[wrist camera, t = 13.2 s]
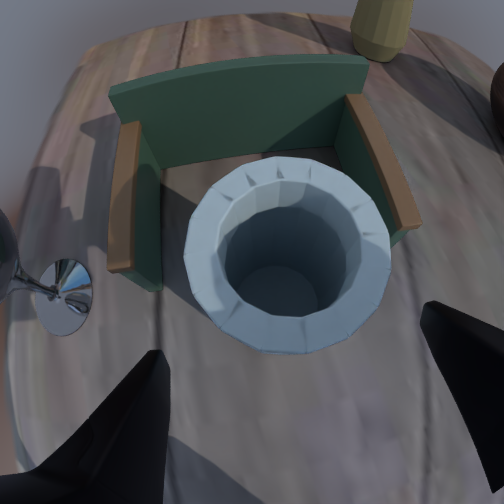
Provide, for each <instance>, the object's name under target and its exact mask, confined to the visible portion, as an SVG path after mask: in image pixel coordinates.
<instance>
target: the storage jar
mask: <svg viewBox="0 0 504 504" xmlns="http://www.w3.org/2000/svg"><path fill="white" fill-rule="evenodd" d="M183 259H184V263H185V267H186V271H187V275H188V279H189V283H190V287H191V291H192V294H193V295H194V298H195V299H196V300H197V302H198V303H199V304H200V306H201V307H202V308H203V309H204V311H205V312H206V313H207V314H208V316H209V317H210V318H211V319H212V321H213V322H214V323H215V324H216V326H217V327H218V328H219V329H221V331H223V332H224V333H226V334H228V335H229V336H231V337H233V338H235V339H236V340H238V341H240V342H242V343H243V344H245V345H247V346H249V347H251V348H253V349H255V350H257V351H259V352H261V353H265V354H279V355H290V354H309V353H312V352H314V351H317V350H320V349H322V348H325V347H328V346H330V345H333V344H336V343H338V342H341V341H343V340H346V339H348V337H350V336H351V335H352V334H353V333H354V332H355V331H356V330H357V329H358V328H359V327H360V326H361V325H362V324H363V323H364V322H365V321H366V320H367V319H368V318H369V317H370V316H371V315H372V314H373V313H374V312H375V311H376V309H377V307H378V306H379V304H380V302H381V299H382V296H383V294H384V291H385V288H386V285H387V282H388V279H389V277H390V274H391V253H390V239H389V233H388V230H387V228H386V225H385V223H384V221H383V219H382V217H381V215H380V213H379V211H378V209H377V207H376V205H375V203H374V201H373V200H371V197H370V196H369V195H368V194H367V193H366V192H364V191H363V190H362V189H361V188H360V187H359V186H358V185H357V184H356V183H355V182H354V181H353V180H352V179H351V178H349V177H348V176H347V175H345V174H344V173H342V172H340V171H338V170H336V169H333V168H331V167H329V166H327V165H324V164H322V163H320V162H317V161H315V160H312V159H306V158H294V157H281V156H276V157H275V156H274V157H270V158H266V159H262V160H258V161H254V162H251V163H247V164H243V165H241V166H239V167H238V168H236V169H235V170H233V171H232V172H230V173H229V174H227V175H226V176H224V177H223V178H222V179H220V180H219V181H217V182H216V183H215V184H213V185H212V186H211V187H210V188H209V190H208V191H207V193H206V194H205V196H204V197H203V199H202V200H201V202H200V203H199V205H198V206H197V208H196V209H195V211H194V212H193V214H192V215H191V219H190V221H189V226H188V231H187V236H186V242H185V248H184V256H183Z"/></svg>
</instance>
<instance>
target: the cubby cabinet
mask: <svg viewBox="0 0 504 504" xmlns="http://www.w3.org/2000/svg"><path fill="white" fill-rule="evenodd" d="M369 65H370V64H369V62H368V61H367V59H366V58H365V57H364V56H358V55H338V54H294V55H274V56H261V57H250V58H241V59H232V60H225V61H218V62H211V63H205V64H200V65H194V66H189V67H184V68H179V69H174V70H170V71H165V72H161V73H157V74H153V75H149V76H145V77H142V78H138V79H135V80H131V81H128V82H124V83H121V84H118V85H115V86H112V87H111V88H110V91H109V94H108V97H109V99H110V101H111V103H112V105H113V107H114V109H115V111H116V112H117V114H118V116H119V118H120V120H121V126H120V132H119V138H118V144H117V150H116V157H115V164H114V172H113V180H112V189H111V199H110V210H109V224H108V242H107V271H109V272H111V273H112V274H114V273H120V274H122V275H123V276H125V277H126V278H128V279H129V280H131V281H133V282H134V283H136V284H137V285H139V286H141V287H142V288H144V289H145V290H147V291H149V292H153V291H161V290H163V282H162V262H161V233H160V173H161V169H165V168H170V167H175V166H181V165H186V164H191V163H197V162H202V161H208V160H214V159H221V158H227V157H234V156H241V155H248V154H255V153H263V152H272V151H280V150H290V149H300V148H311V147H324V146H334V148H335V150H336V153H337V156H338V158H339V161H340V164H341V167H342V169H343V172H344V174H345V175H347V176H348V177H349V178H351V179H352V180H353V181H354V182H355V183H356V184H357V185H358V186H359V187H360V188H361V189H362V190H363V191H364V192H366V193H367V194H368V195H369V196H370V197H371V200H373V201H374V203H375V205H376V207H377V209H378V211H379V213H380V215H381V217H382V219H383V221H384V223H385V225H386V228H387V230H388V233H389V239H390V249H391V248H392V247H393V246H394V245H395V244H396V243H397V242H398V241H399V240H400V239H401V238H402V237H403V236H404V235H405V234H406V233H407V232H408V231H409V230H411V229H417V228H419V227H420V226H421V225H422V220H421V217H420V215H419V212H418V209H417V206H416V204H415V201H414V199H413V196H412V193H411V191H410V188H409V186H408V184H407V181H406V179H405V176H404V174H403V172H402V169H401V167H400V165H399V163H398V160H397V158H396V156H395V154H394V152H393V150H392V148H391V145H390V143H389V141H388V139H387V137H386V135H385V133H384V131H383V129H382V127H381V125H380V124H379V122H378V120H377V118H376V116H375V114H374V112H373V110H372V109H371V107H370V105H369V103H368V101H367V100H366V98H365V96H364V95H363V93H362V89H363V86H364V83H365V79H366V76H367V72H368V69H369Z"/></svg>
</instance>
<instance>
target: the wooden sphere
mask: <svg viewBox="0 0 504 504" xmlns="http://www.w3.org/2000/svg"><path fill="white" fill-rule="evenodd" d="M490 100H491V108H492V112H493V116H494V119H495V122H496V124H497V126H498V129H499V131H500V132H501V134H502V136H503V137H504V63H502V65H501V66H500V67H499V68H498V69H497V71H496V73H495V75H494V77H493V80H492V84H491V91H490Z"/></svg>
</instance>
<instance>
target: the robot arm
mask: <svg viewBox="0 0 504 504" xmlns="http://www.w3.org/2000/svg"><path fill="white" fill-rule="evenodd" d="M420 327H421V329H422V332H423V334H424V336H425V338H426V341H427V343H428V346H429V348H430V350H431V353H432V355H433V358H434V360H435V362H436V364H437V366H438V368H439V370H440V372H441V374H442V375H443V377H444V379H445V381H446V383H447V385H448V387H449V389H450V391H451V393H452V395H453V398H454V400H455V402H456V404H457V406H458V408H459V410H460V412H461V415H462V417H463V419H464V421H465V424H466V426H467V428H468V430H469V433H470V435H471V438H472V440H473V442H474V445H475V447H476V449H477V453H478V455H479V458H480V460H481V463H482V466H483V468H484V471H485V474H486V477H487V480H488V483H489V486H490V489H491V491H492V493H495V492H496V491H498V490H499V489H500V488H502V487H503V486H504V331H503V330H501V329H499V328H497V327H494V326H492V325H490V324H488V323H485V322H483V321H481V320H479V319H476V318H474V317H472V316H470V315H467V314H465V313H463V312H460V311H458V310H456V309H454V308H451V307H449V306H447V305H444V304H442V303H440V302H437V301H430V302H427V303H425V304H424V306H423V310H422V315H421V319H420ZM169 422H170V367H169V364H168V362H167V360H166V358H165V355H164V353H163V351H162V350H160V349H158V350H150V351H148V352H147V353H146V354H145V355H144V357H143V358H142V359H141V360H140V361H139V362H138V363H137V364H136V365H135V366H134V368H133V369H132V370H131V371H130V372H129V373H128V374H127V375H126V376H125V378H124V379H123V380H122V381H121V382H120V383H119V384H118V385H117V386H116V387H115V389H114V390H113V391H112V392H111V393H110V394H109V395H108V396H107V397H106V399H105V400H104V401H103V402H102V403H101V404H100V405H99V406H98V408H97V409H96V410H95V411H94V412H93V413H92V414H91V415H90V416H89V419H87V420H86V421H85V422H84V423H83V424H82V425H81V426H80V427H79V428H78V430H77V431H76V432H75V433H74V434H73V435H72V436H71V437H70V438H69V439H68V440H67V441H66V442H65V443H64V444H62V445H61V446H60V447H59V448H58V449H57V450H56V451H55V452H54V453H53V454H51V455H50V456H49V457H48V458H47V459H46V460H45V461H44V462H43V463H41V464H40V465H39V466H38V467H36V468H35V469H33V470H31V471H28V472H24V473H18V474H10V475H2V476H0V504H163V489H164V475H165V463H166V451H167V441H168V431H169Z"/></svg>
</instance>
